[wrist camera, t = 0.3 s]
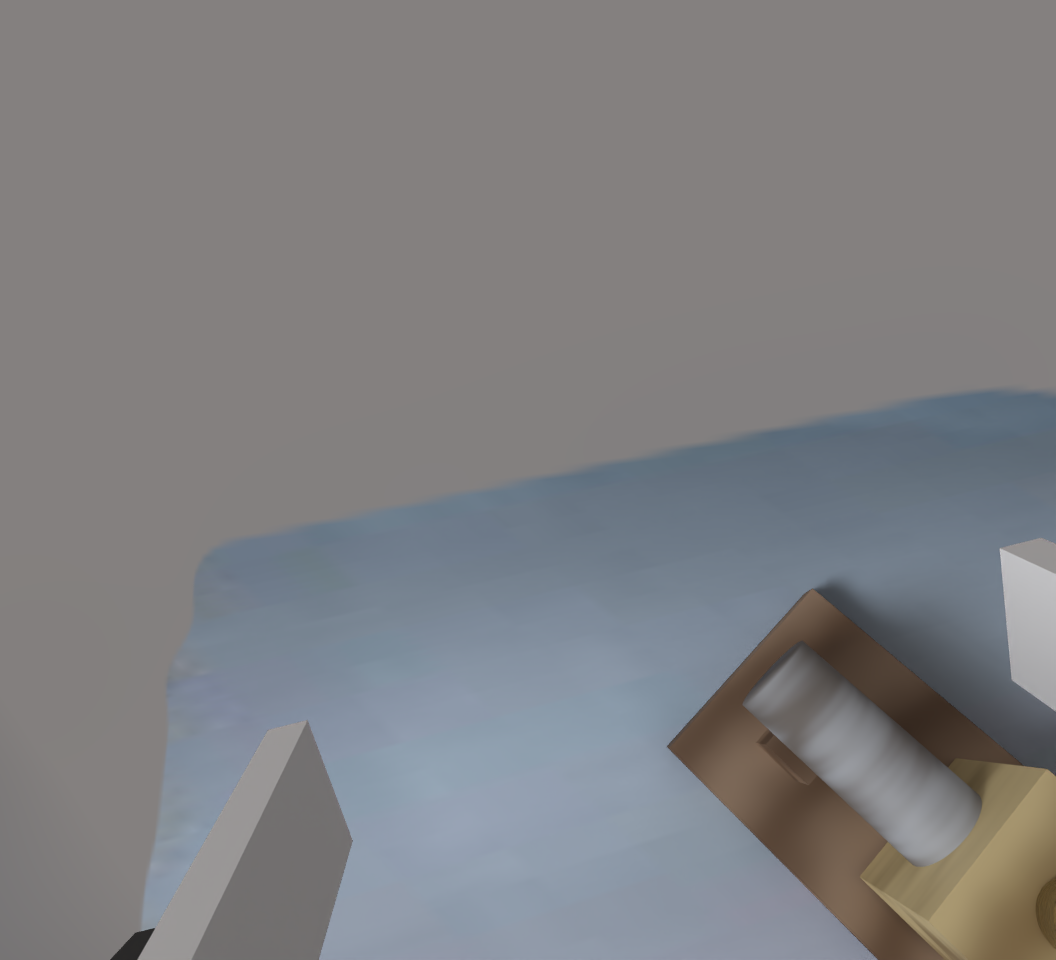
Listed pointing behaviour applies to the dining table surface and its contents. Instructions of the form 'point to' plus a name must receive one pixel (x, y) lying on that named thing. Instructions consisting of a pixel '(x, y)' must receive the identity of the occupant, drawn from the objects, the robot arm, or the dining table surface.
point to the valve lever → (1047, 912)
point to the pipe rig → (879, 794)
